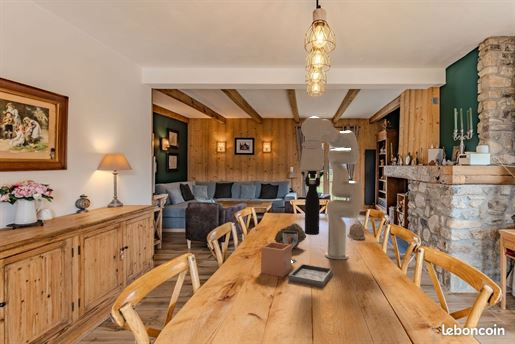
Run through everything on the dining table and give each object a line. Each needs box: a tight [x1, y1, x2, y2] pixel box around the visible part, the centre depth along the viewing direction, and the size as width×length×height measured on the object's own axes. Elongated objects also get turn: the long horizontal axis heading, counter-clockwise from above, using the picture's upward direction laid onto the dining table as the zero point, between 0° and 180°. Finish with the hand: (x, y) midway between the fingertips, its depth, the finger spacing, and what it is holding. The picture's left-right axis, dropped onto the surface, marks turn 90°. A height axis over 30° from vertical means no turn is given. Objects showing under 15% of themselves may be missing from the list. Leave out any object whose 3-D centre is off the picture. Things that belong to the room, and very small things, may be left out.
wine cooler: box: [260, 241, 293, 278], centre depth 144 cm, size 11×11×12 cm
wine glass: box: [283, 231, 298, 264], centre depth 160 cm, size 8×8×15 cm
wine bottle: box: [304, 171, 321, 236], centre depth 136 cm, size 6×6×30 cm
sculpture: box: [346, 222, 366, 240], centre depth 218 cm, size 12×17×10 cm
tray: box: [287, 263, 333, 288], centre depth 137 cm, size 18×15×2 cm
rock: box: [273, 222, 307, 249], centre depth 184 cm, size 18×14×15 cm
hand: (312, 186), depth 136 cm, fingers closed on wine bottle, 3 cm apart
